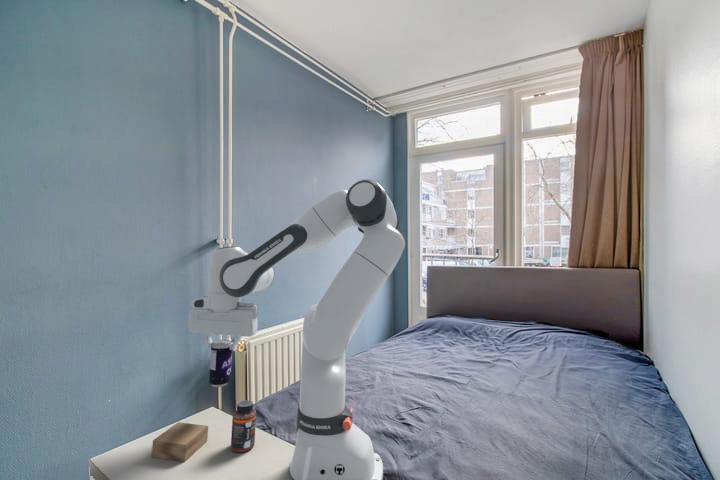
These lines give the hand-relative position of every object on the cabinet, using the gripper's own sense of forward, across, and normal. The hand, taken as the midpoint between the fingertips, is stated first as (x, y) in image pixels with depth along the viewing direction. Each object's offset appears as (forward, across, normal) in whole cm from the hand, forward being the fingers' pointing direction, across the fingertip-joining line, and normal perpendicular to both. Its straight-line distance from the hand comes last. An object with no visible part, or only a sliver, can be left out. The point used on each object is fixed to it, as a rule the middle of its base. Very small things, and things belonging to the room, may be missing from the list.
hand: (221, 349), depth 94 cm
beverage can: (+10, 0, 0) cm, 10 cm away
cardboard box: (+23, +4, +10) cm, 25 cm away
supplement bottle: (+23, -11, +6) cm, 26 cm away
